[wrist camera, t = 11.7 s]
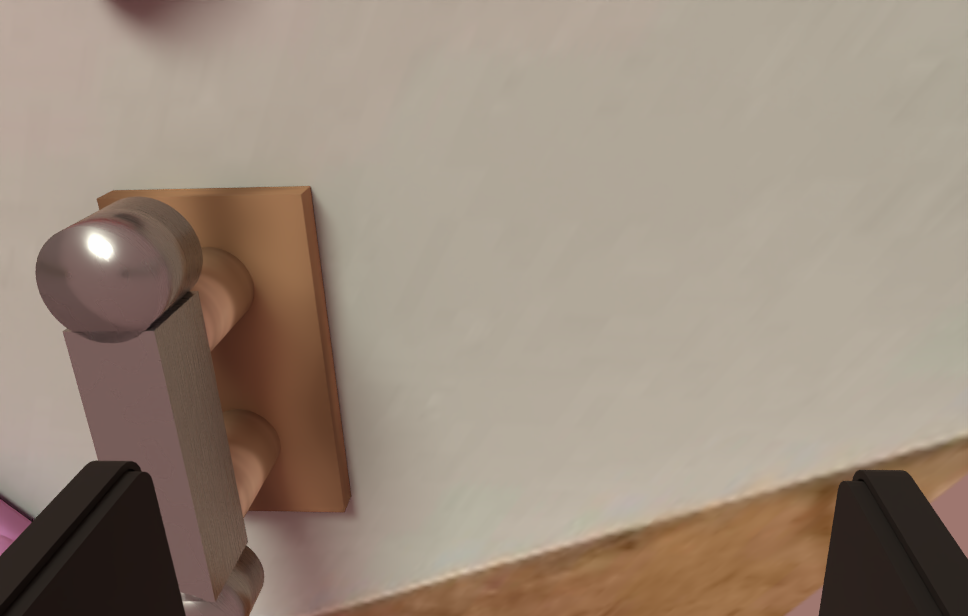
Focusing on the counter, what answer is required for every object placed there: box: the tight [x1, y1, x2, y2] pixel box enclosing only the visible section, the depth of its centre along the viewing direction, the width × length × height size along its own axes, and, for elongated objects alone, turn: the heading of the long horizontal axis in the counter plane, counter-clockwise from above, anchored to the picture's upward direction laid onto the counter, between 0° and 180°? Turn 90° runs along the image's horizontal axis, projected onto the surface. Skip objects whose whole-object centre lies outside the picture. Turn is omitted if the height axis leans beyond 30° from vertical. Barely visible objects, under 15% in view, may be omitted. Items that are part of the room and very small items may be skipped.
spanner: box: [36, 196, 264, 616], centre depth 35 cm, size 5×21×4 cm, turn 2°
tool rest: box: [97, 186, 351, 518], centre depth 40 cm, size 10×18×7 cm, turn 3°
